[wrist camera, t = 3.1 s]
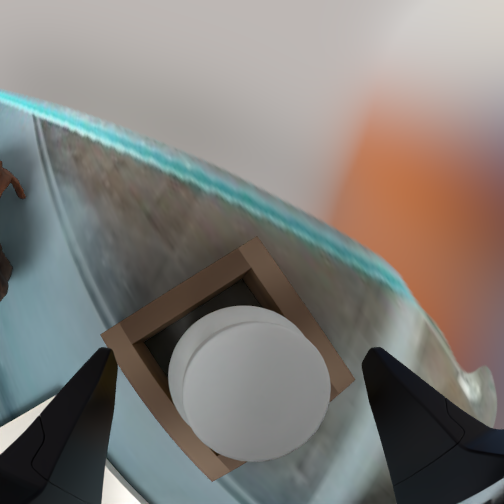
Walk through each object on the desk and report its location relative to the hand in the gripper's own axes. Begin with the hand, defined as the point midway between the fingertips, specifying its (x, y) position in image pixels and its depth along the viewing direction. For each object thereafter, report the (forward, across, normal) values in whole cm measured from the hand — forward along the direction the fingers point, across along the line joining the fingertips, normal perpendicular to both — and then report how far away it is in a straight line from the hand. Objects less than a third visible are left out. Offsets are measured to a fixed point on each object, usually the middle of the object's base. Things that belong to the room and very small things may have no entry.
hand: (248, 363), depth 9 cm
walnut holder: (+5, 0, +6) cm, 7 cm away
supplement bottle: (+5, 0, +6) cm, 8 cm away
